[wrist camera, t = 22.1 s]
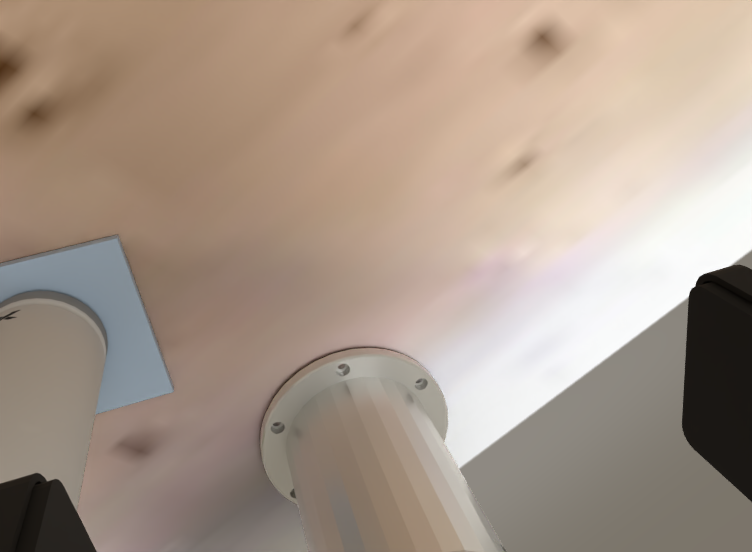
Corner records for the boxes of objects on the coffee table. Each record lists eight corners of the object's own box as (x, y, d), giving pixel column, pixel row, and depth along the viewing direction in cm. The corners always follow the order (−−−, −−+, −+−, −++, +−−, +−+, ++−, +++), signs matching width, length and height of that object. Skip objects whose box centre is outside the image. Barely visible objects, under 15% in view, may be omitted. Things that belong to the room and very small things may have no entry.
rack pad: (173, 386, 40) (173, 392, 39) (-2, 436, 38) (-4, 443, 38) (118, 234, 35) (117, 238, 35) (-83, 283, 34) (-87, 288, 33)
